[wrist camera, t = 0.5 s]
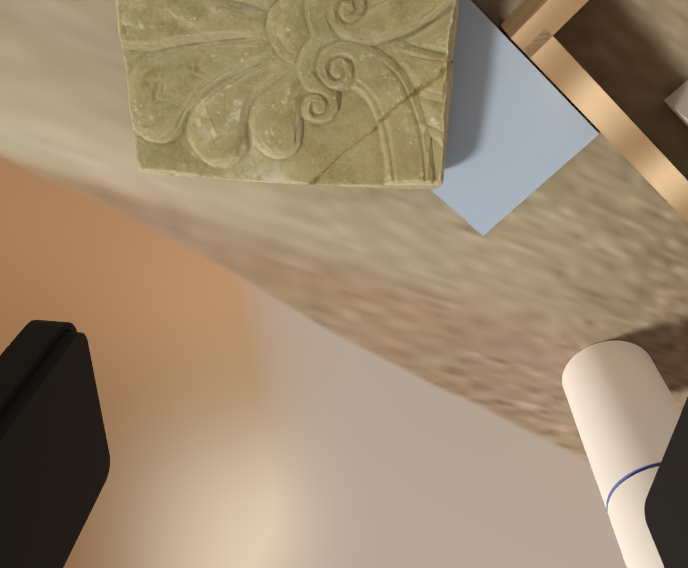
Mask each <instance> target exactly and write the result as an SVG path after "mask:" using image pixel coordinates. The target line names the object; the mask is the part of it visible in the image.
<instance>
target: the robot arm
mask: <svg viewBox="0 0 688 568" xmlns="http://www.w3.org/2000/svg"><path fill="white" fill-rule="evenodd" d="M109 467H110V455H109V450H108V444H107V439H106V434H105V429H104V424H103V418H102V413H101V408H100V403H99V398H98V393H97V388H96V382H95V377H94V372H93V366H92V361H91V356H90V352H89V346H88V341H87V338H86V336H85V334H84V333H80V332H77V330H76V328H75V326H74V325H73V324H72V323H69V322H57V321H43V320H33V321H31V322H29V323H28V324H27V325H26V326H25V327H24V329H23V330H22V331H21V332H20V333H19V334H18V335H17V337H16V338H15V339H14V340H13V341H12V342H11V344H10V345H9V346H8V347H7V348H6V349H5V351H4V352H3V353H2V354H1V356H0V568H63V567H64V565H65V563H66V561H67V559H68V557H69V555H70V552H71V550H72V548H73V547H74V544H75V542H76V540H77V538H78V536H79V534H80V532H81V530H82V528H83V526H84V524H85V522H86V520H87V518H88V516H89V514H90V512H91V510H92V508H93V506H94V504H95V502H96V500H97V498H98V496H99V494H100V492H101V490H102V488H103V485H104V483H105V481H106V479H107V476H108V473H109ZM644 513H645V520H646V523H647V526H648V529H649V531H650V534H651V536H652V539H653V541H654V543H655V546H656V548H657V551H658V553H659V556H660V558H661V560H662V563H663V565H664V568H688V397H687V400H686V402H685V405H684V407H683V410H682V412H681V414H680V417H679V419H678V422H677V424H676V427H675V429H674V432H673V434H672V436H671V439H670V441H669V444H668V446H667V449H666V451H665V453H664V456H663V458H662V461H661V463H660V466H659V468H658V471H657V473H656V475H655V478H654V480H653V483H652V485H651V488H650V490H649V492H648V495H647V497H646V501H645V506H644Z"/></svg>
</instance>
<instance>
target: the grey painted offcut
mask: <svg viewBox="0 0 688 568" xmlns="http://www.w3.org/2000/svg"><path fill="white" fill-rule="evenodd" d="M664 102H665V103H666V104H667V105H668V106H669V107H670V108H671V109H672V110H673V112H674V113H675V114H676V115H677V116H678V117H679V118H680V119H681V121H682V122H683V123H684V124H685V125H686V126H687V127H688V80H687V81H686V82H684V83H683V84H682V85H681V86H680V87H679V88H677V89H676V90H675V91H674V92H673V93H672V94H670V95H669V96H668V97H667V98H666V99H665V100H664Z"/></svg>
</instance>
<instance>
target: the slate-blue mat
mask: <svg viewBox="0 0 688 568" xmlns="http://www.w3.org/2000/svg"><path fill="white" fill-rule="evenodd" d="M597 135H599V133H598V132H597V131H596V130H595V129H594V128H593V127H592V126H591V124H590V123H589V122H588V121H587V120H586V119H585V118H584V117H583V116H582V115H581V114H580V113H579V112H578V111H577V110H576V109H575V108H574V107H573V106H572V105H571V104H570V103H569V102H568V101H567V100H566V99H565V97H564V96H563V95H562V94H561V93H560V92H559V91H558V90H557V89H556V88H555V87H554V86H553V85H552V84H551V83H550V82H549V81H548V80H547V79H546V78H545V77H544V76H543V75H542V74H541V73H540V72H539V70H538V69H537V68H536V67H535V66H534V65H533V64H532V63H531V62H530V61H529V60H528V59H527V58H526V57H525V56H524V55H523V54H522V53H521V52H520V51H519V50H518V49H517V48H516V47H515V46H514V45H513V43H512V42H511V41H510V40H509V39H508V38H507V37H506V36H505V35H504V34H503V33H502V32H501V31H500V30H499V29H498V28H497V27H496V26H495V25H494V24H493V23H492V22H491V21H490V20H489V19H488V18H487V16H486V15H485V14H484V13H483V12H482V11H481V10H480V9H479V8H478V7H477V6H476V5H475V4H474V3H473V2H472V1H471V0H460V3H459V18H458V28H457V34H456V46H455V55H454V71H453V87H452V99H451V110H450V116H449V125H448V139H447V150H446V160H445V168H444V178H443V184H442V185H441V187H440V188H436V189H431V190H432V191H433V192H434V193H435V194H436V195H437V196H438V197H440V198H441V199H442V200H443V201H444V202H445V203H446V204H447V205H449V206H450V207H451V208H452V209H453V210H454V211H455V212H457V213H458V214H459V215H460V216H461V217H462V218H463V219H464V220H466V221H467V222H468V223H469V224H470V225H471V226H472V227H473V228H475V229H476V230H477V231H478V232H479V233H480V234H481V235H484V234H486V233H487V232H488V231H489V230H490V229H491V228H492V227H494V226H495V225H496V224H497V223H498V222H499V221H500V220H502V219H503V218H504V217H505V216H506V215H507V214H508V213H510V212H511V211H512V210H513V209H514V208H515V207H516V206H517V205H519V204H520V203H521V202H522V201H523V200H524V199H525V198H527V197H528V196H529V195H530V194H531V193H532V192H533V191H535V190H536V189H537V188H538V187H539V186H540V185H541V184H543V183H544V182H545V181H546V180H547V179H548V178H549V177H551V176H552V175H553V174H554V173H555V172H556V171H557V170H559V169H560V168H561V167H562V166H563V165H564V164H565V163H567V162H568V161H569V160H570V159H571V158H572V157H573V156H575V155H576V154H577V153H578V152H579V151H580V150H581V149H583V148H584V147H585V146H586V145H587V144H588V143H589V142H591V141H592V140H593V139H594V138H595V137H596V136H597Z"/></svg>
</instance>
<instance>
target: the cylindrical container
mask: <svg viewBox="0 0 688 568" xmlns="http://www.w3.org/2000/svg"><path fill="white" fill-rule="evenodd" d="M562 384H563V388H564V391H565V393H566V396H567V399H568V402H569V405H570V408H571V411H572V414H573V416H574V419H575V422H576V425H577V428H578V431H579V434H580V436H581V439H582V442H583V445H584V448H585V451H586V453H587V456H588V459H589V462H590V465H591V467H592V470H593V473H594V476H595V479H596V481H597V484H598V487H599V490H600V492H601V495H602V498H603V501H604V504H605V507H606V509H607V512H608V515H609V518H610V521H611V524H612V526H613V529H614V532H615V535H616V538H617V541H618V543H619V546H620V549H621V552H622V555H623V558H624V561H625V564H626V566H627V568H664V565H663V563H662V560H661V558H660V556H659V553H658V551H657V548H656V546H655V543H654V541H653V539H652V536H651V534H650V531H649V529H648V526H647V523H646V520H645V513H644V506H645V501H646V497H647V495H648V492H649V490H650V488H651V485H652V483H653V480H654V478H655V475H656V473H657V471H658V468H659V466H660V463H661V461H662V458H663V456H664V453H665V451H666V449H667V446H668V444H669V441H670V439H671V436H672V434H673V432H674V429H675V427H676V424H677V422H678V419H679V417H680V414H681V410H680V409H679V407H678V405H677V403H676V401H675V400H674V398H673V396H672V394H671V393H670V391H669V389H668V387H667V386H666V384H665V382H664V380H663V378H662V377H661V375H660V373H659V371H658V370H657V368H656V366H655V364H654V362H653V361H652V359H651V357H650V356H649V354H648V353H647V352H646V351H645V350H644V349H643V348H641V347H639V346H638V345H636V344H633V343H630V342H626V341H613V340H612V341H604V342H600V343H596V344H593V345H591V346H589V347H587V348H584V349H583V350H581V351H580V352H578V353H577V354H576V355H575V356H574V357H573V358H572V359H571V360H570V361H569V363H568V364H567V365H566V367H565V370H564V372H563V377H562Z"/></svg>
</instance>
